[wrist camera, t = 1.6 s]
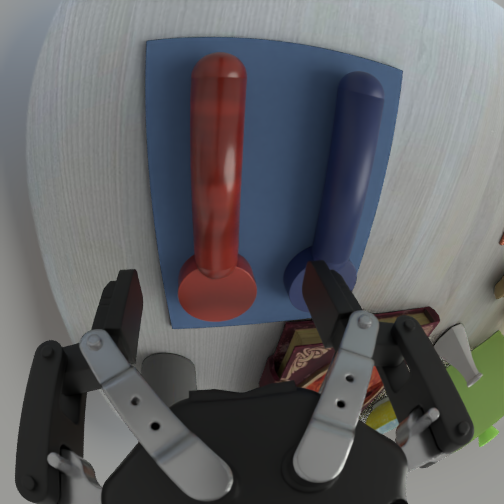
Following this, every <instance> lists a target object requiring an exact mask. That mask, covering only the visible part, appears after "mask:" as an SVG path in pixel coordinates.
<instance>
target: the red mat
mask: <svg viewBox="0 0 504 504" xmlns="http://www.w3.org/2000/svg"><path fill="white" fill-rule="evenodd" d="M499 244H500V245H504V234H503V236H502V239H501V241H500V243H499Z"/></svg>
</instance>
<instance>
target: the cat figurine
mask: <svg viewBox="0 0 504 504" xmlns="http://www.w3.org/2000/svg"><path fill="white" fill-rule="evenodd" d="M494 294H495V298H496V299H499V298H501V297H504V275H503V277H502V279H501V280H500V281H499V282H498V283H497V284H496V285H495V289H494Z"/></svg>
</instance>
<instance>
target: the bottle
mask: <svg viewBox="0 0 504 504" xmlns="http://www.w3.org/2000/svg"><path fill="white" fill-rule="evenodd" d="M141 376H142V377H143V378H144V379H145V381H146V382H147V383H148V384H149V385H150V387H151V388H152V389H153V390H154V392H155V393H156V394H157V395H158V396H159V397H160V399H161V400H162V401H163V402H164V403H165V404H166V405H167V407H168V408H169V407H170V406H171V405H173V404H175V403H176V402H178V401H181V400H183V399H186V398H189V391H193V390H197V386H196V373H195V367H194V364H193V363H192V362H191V361H190V360H188V359H186V358H185V357H182V356H179V355H175V354H167V353H162V354H155V355H152V356H149V357H147V358H146V359H145V360H144V361H143V363H142V370H141ZM138 442H139V441H138Z"/></svg>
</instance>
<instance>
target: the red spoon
mask: <svg viewBox="0 0 504 504" xmlns="http://www.w3.org/2000/svg"><path fill="white" fill-rule="evenodd" d="M246 86H247V72H246V68H245V66H244V64H243V63H242V62H241V61H240V60H239V59H238V58H237V57H236V56H234V55H232V54H229V53H225V52H215V53H211V54H208V55H206V56H204V57H203V58H201V59H200V60H199V61H198V62H197V63H196V65H195V66H194V68H193V70H192V73H191V93H190V165H191V198H192V221H193V238H194V254H195V255H193V256H191V257H190V258H189V259H188V260H187V261H186V262H185V263H184V264H183V266H182V267H181V269H180V272H179V278H178V299H179V302H180V305H181V306H182V308H183V309H184V310H185V311H186V312H187V313H188V314H190V315H191V316H193V317H195V318H197V319H200V320H203V321H209V322H221V321H227V320H231V319H234V318H236V317H238V316H240V315H242V314H243V313H245V312H246V311H247V310H248V309H249V308H250V307H251V306H252V304H253V303H254V301H255V298H256V295H257V286H256V282H255V278H254V275H253V271H252V268H251V266H250V264H249V263H248V261H247V260H246V259H245V258H244V257H243V256H241V255H240V254H238V249H239V224H240V201H241V179H242V159H243V139H244V121H245V103H246Z"/></svg>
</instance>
